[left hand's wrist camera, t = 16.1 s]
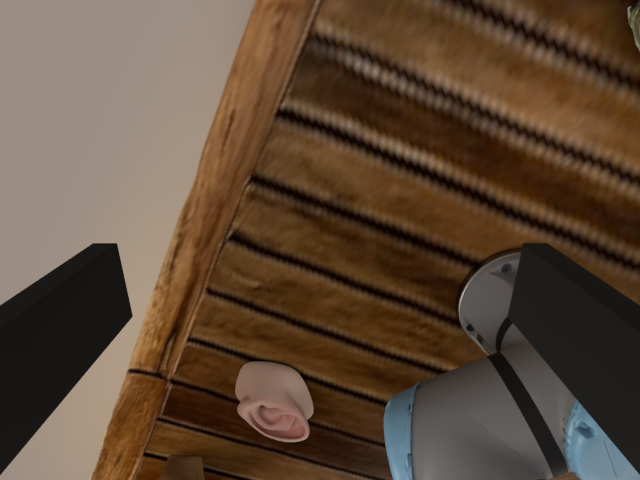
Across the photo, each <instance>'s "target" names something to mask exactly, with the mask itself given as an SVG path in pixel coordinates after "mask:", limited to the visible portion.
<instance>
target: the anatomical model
mask: <svg viewBox="0 0 640 480" xmlns="http://www.w3.org/2000/svg"><path fill="white" fill-rule="evenodd" d="M235 393H236V396H237V398H238V399H239V400H240V401H241V402H240V404H239V405H238V409H237V410H238V413H239V415H240V416H241V417H242V418H243V419H245V420H246V421H247V422H248V423H249V424H250V425H251V426H253V427H254V428H255V429H256V430H257V431H259V432H260V433H262V434H263V435H265V436H267V437H269V438H272V439H275V440H279V441H284V442H298V441H302V440H305V439H306V438H307V437H308V435H309V425H308V422H307V420H308V419H309V418H310V417H311V416H312V414H313V411H314V408H313V402H312V399H311V396H310V393H309V391H308V388H307V386H306V384H305V382H304V380H303V379H302V377H301V376H300V374H299V373H298V372H297V371H296V370H294V369H292V368H291V367H288V366H286V365H282V364H278V363H273V362H264V361H252V362H248V363H246V364H244V365H243V366H242V368H241V370H240V372H239V375H238V378H237V381H236V389H235Z"/></svg>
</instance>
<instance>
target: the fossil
mask: <svg viewBox="0 0 640 480" xmlns="http://www.w3.org/2000/svg"><path fill="white" fill-rule="evenodd" d="M628 20H629V25H630V27H631V28H632V31H633V34H634V38H635V43H636V46H637V47H638V49H639V51H640V0H639V1H638V2H637V3H636V4H635V5H632V6H630V7H628Z"/></svg>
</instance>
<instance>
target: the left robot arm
mask: <svg viewBox="0 0 640 480" xmlns="http://www.w3.org/2000/svg"><path fill="white" fill-rule="evenodd" d="M456 314H457V317H458V320H459V322H460V324H461V326H462V328H463V329H464V331H465V332H466V334H467V335H468V336H469V337H470V338H471V339H472V340H473V341H474V342H475V343H476V344H477V345H478V346H479V347H480V348H481V349H482V351H484V352H485V353H487V351H488V352H489V353H490V354H492V355H489V354H488V353H487V354H488V355H489V356H487V357H484V358H481V359H479V360H476V361H474V362H472V363H469V364H467V365H464V366H462V367H459V368H457V369H454V370H452V371H449V372H446V373H444V374H441V375H439V376H436V377H433V378H431V379H428V380H426V381H419V382H417V383H416V384H415V385H414V386H413V387H411V388H409V389H406V390H404V391H402V392H400V393H398V394H396V395H394V396H393V397H392V398H391V399H390V400H389V401H388V403H387V406H386V409H385V414H384V436H385V444H386V450H387V456H388V460H389V465H390V469H391V473H392V477H393V480H548V479H550V478H553V477H556V476H559V475H562V474H565V473H568V472H571V471H573V473H574V475H576V476H577V477H578V478H579V479H581V480H640V305H638V304H637V303H635V302H634V301H632V300H631V299H629V298H628V297H626V296H625V295H623V294H622V293H620V292H619V291H617V290H616V289H614V288H613V287H611V286H610V285H608V284H607V283H605V282H604V281H602V280H601V279H599V278H598V277H596V276H595V275H593V274H592V273H590V272H589V271H587V270H586V269H584V268H583V267H581V266H580V265H578V264H577V263H575V262H574V261H572V260H571V259H569V258H568V257H566V256H565V255H563V254H562V253H560V252H559V251H557V250H556V249H554V248H553V247H551V246H550V245H548V244H547V243H523V246H522V249H512V250H507V251H503V252H500V253H497V254H495V255H493V256H490V257H489V258H487V259H485V260H484V261H482V262H481V263H479V264H478V265H477V266H476V267H475V268H473V269H472V270H471V271H470V273H469V274H468V275H467V276H466V278H465V279H464V281H463V282H462V284H461V286H460V288H459V291H458V294H457V298H456ZM131 318H132V311H131V307H130V302H129V297H128V293H127V288H126V283H125V279H124V274H123V270H122V265H121V260H120V256H119V251H118V246H117V244H116V243H94V244H92V245H90V246H89V247H87V248H86V249H84V250H83V251H81V252H80V253H78V254H77V255H75V256H74V257H72V258H71V259H69V260H68V261H66V262H65V263H63V264H62V265H60V266H59V267H57V268H56V269H54V270H53V271H51V272H50V273H48V274H47V275H45V276H44V277H42V278H41V279H39V280H38V281H36V282H35V283H33V284H32V285H30V286H29V287H27V288H26V289H24V290H23V291H21V292H20V293H18V294H17V295H15V296H14V297H12V298H11V299H9V300H8V301H6V302H5V303H3V304H2V305H0V475H1V474H2V472H3V471H4V470H5V469H6V468H7V466H8V465H9V464H10V463H11V461H12V460H13V459H14V458H15V457H16V456H17V454H18V453H19V452H20V451H21V450H22V448H23V447H24V446H25V445H26V444H27V442H28V441H29V440H30V439H31V437H32V436H33V435H34V434H35V433H36V432H37V430H38V429H39V428H40V427H41V425H42V424H43V423H44V422H45V421H46V420H47V418H48V417H49V416H50V415H51V414H52V412H53V411H54V410H55V409H56V408H57V406H58V405H59V404H60V403H61V402H62V400H63V399H64V398H65V397H66V396H67V394H68V393H69V392H70V391H71V390H72V388H73V387H74V386H75V385H76V384H77V382H78V381H79V380H80V379H81V378H82V376H83V375H84V374H85V373H86V372H87V370H88V369H89V368H90V367H91V366H92V364H93V363H94V362H95V361H96V360H97V358H98V357H99V356H100V355H101V354H102V352H103V351H104V350H105V349H106V348H107V346H108V345H109V344H110V343H111V342H112V340H113V339H114V338H115V337H116V336H117V334H118V333H119V332H120V331H121V330H122V328H123V327H124V326H125V325H126V324H127V322H128V321H129V320H130V319H131Z"/></svg>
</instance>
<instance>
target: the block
mask: <svg viewBox="0 0 640 480" xmlns="http://www.w3.org/2000/svg"><path fill="white" fill-rule="evenodd" d="M159 480H205V475H204V469H203V463H202V457H201V456H169V457H168V460H167V462H166V465H165V467H164V470H163V472H162V474H161V477H160V479H159Z"/></svg>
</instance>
